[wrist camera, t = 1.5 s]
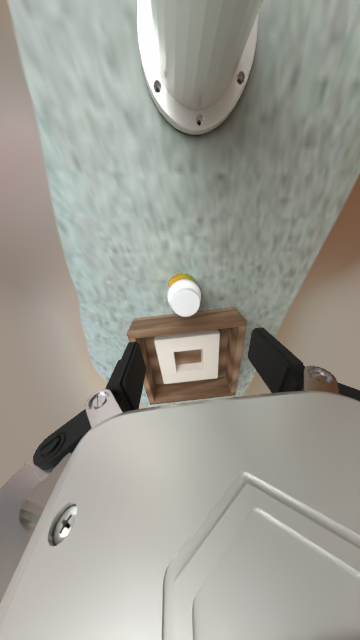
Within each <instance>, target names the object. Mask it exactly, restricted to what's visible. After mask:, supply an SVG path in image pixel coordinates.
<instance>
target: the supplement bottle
mask: <svg viewBox="0 0 360 640" xmlns="http://www.w3.org/2000/svg"><path fill="white" fill-rule="evenodd" d="M167 299H168V303H169V305H170V306H171V308H172V309H173V310H174V311H175V313H176V314H178V315H180V316H183V317H188V316H191V315H193V314H195V313H196V312H197V311H198V309H199V307H200V301H201V291H200V289H199V287H198V285H197V284H196V282H195V281H194V279H193V278H192V276H190V275H189V274H187V273H183V272H181V273H177V274H175V275H173V276H172V277H171V279H170V281H169V284H168V294H167Z"/></svg>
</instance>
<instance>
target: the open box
mask: <svg viewBox="0 0 360 640" xmlns="http://www.w3.org/2000/svg"><path fill="white" fill-rule="evenodd" d="M245 328H246V320H245V318H244V317H243V316H242V315H241V314H240V313H239V312H238V311H237V310H236V309H235V308H225V309H216V310H207V311H198V312H196V313H195V314H193V315H191V316H188V317H183V316H180V315H178V314H171V315H162V316H153V317H144V318H134V320H133V322H132V324H131V326H130V328H129V330H128V332H127V336H128V339H129V342H137V343H139V345H140V348H141V352H142V355H143V359H144V362H145V365H146V374H145V379H144V387H145V390H146V393H147V396H148V399H149V402H150V405H152V404H161V403H170V402H179V401H188V400H197V399H206V398H214V397H223V396H232V395H235V394H236V388H237V381H238V374H239V368H240V361H241V354H242V348H243V341H244V334H245ZM216 329H218V331H219V333H220V339H219V360H218V378H215V379H206V380H197V381H188V382H179V383H170V384H164V382H163V378H162V374H161V369H160V365H159V360H158V356H157V352H156V347H155V343H154V338H155V336H162V335H171V334H180V333H189V332H198V331H207V330H216ZM174 353H175V360H176V365H181V364H190V363H199V362H201V349H198V350H189V351H180V352H174Z"/></svg>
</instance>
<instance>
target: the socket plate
mask: <svg viewBox="0 0 360 640" xmlns="http://www.w3.org/2000/svg"><path fill="white" fill-rule="evenodd" d="M219 339H220V333H219V331H218V329H216V330H207V331H198V332H189V333H180V334H171V335H162V336H155V338H154V343H155V347H156V352H157V356H158V360H159V365H160V369H161V374H162V378H163V382H164V384H170V383H179V382H188V381H197V380H206V379H215V378H218V360H219ZM198 349H201V362H199V363H190V364H181V365H176V360H175V353H174V352H180V351H189V350H198Z"/></svg>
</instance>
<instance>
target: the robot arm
mask: <svg viewBox="0 0 360 640" xmlns="http://www.w3.org/2000/svg"><path fill="white" fill-rule="evenodd" d="M261 3H262V0H137V35H138V47H139V53H140V59H141V65H142V69H143V73H144V77H145V81H146V84H147V87H148V89H149V92H150V95H151V97H152V99H153V101H154V103H155V105H156V107H157V108H158V110H159V111H160V113H161V114H162V115H163V117H164V118H165V119H166V120H167V121H168V122H169V123H170V124H171V125H172V126H173V127H174V128H176V129H178V130H180V131H181V132H184V133H187V134H191V135H196V134H204V133H207V132H210V131H211V130H213V129H215V128H216V127H218V126H219V125H220V124H221V123H222V122H223V121H224V120H225V119H226V118H227V117H228V116H229V114H230V113H231V112H232V110H233V109H234V107H235V106H236V104H237V102H238V100H239V98H240V96H241V94H242V92H243V90H244V87H245V85H246V83H247V80H248V77H249V74H250V70H251V67H252V64H253V59H254V54H255V49H256V44H257V34H258V23H259V15H258V11H259V8H260V6H261ZM238 83H239V84H238ZM157 91H159V93H156V92H157ZM197 123H200V125H198V124H197ZM248 358H249V360H250V362H251V363H252V365H253V366H254V367H255V369H256V370H257V372H258V373H259V375H260V376H261V377H262V379H263V381H264V382H265V383H266V385H267V386H268V388H269V389H270V390H271V392H272V393H270V394H261V395H251V396H242V397H233V398H224V399H215V400H206V401H198V402H189V403H181V404H173V405H164V406H157V407H150V408H143V409H139V403H140V399H141V394H142V389H143V384H144V379H145V374H146V365H145V362H144V359H143V355H142V352H141V348H140V345H139V343H137V342H129V343H128V345H127V347H126V350H125V352H124V354H123V356H122V359H121V360H119V361H118V362H117V365H116V367H115V369H114V371H113V373H112V375H111V378H110V380H109V382H108V384H107V386H106V388H105V389H102V390H99V391H97V392H95V393H94V394H93V395H91V396H90V398H89V399H88V400H87V402H86V405H85V410H83V411H82V412H81V413H79V414H78V415H77V416H75V417H74V418H73V419H71V420H70V421H68V422H67V423H66V424H65V425H63V426H62V427H60V428H59V429H58V430H56V431H55V432H54V433H52V434H51V435H50V436H48V437H47V438H46V439H45V440H44V441H43V442H42V443H41V444H40V445H39V447H38V448H37V450H36V452H35V454H34V456H33V460H32V461H31V462H30V463H29V464H28V465H27V464H25V465H24V466H22V467H21V468H20V470H19V471H17V472H16V473H15V474H14V475H13V476H12V478H11V479H9V480H8V481H7V482H6V483H5V485H4V486H2V487H1V489H0V640H360V391H359V390H357V389H354V388H351V387H349V386H346V385H343V384H340V383H338V382H337V380H336V378H335V377H334V375H332V374H331V373H330V372H328V371H327V370H325V369H323V368H320V367H316V366H307V367H305V366H304V365H303V363H302V362H301V361H300V360H299V359H298V358H297V357H296V356H294V355H293V354H292V353H291V352H290V351H289V350H288V349H287V348H285V347H284V346H283V345H282V344H281V343H280V342H279V341H277V340H276V339H275V338H274V337H273V336H272V335H271V334H270V333H269V332H267V331H266V330H265V329H264V328H255V329H254V330H253V331H252V335H251V341H250V346H249V352H248Z"/></svg>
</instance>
